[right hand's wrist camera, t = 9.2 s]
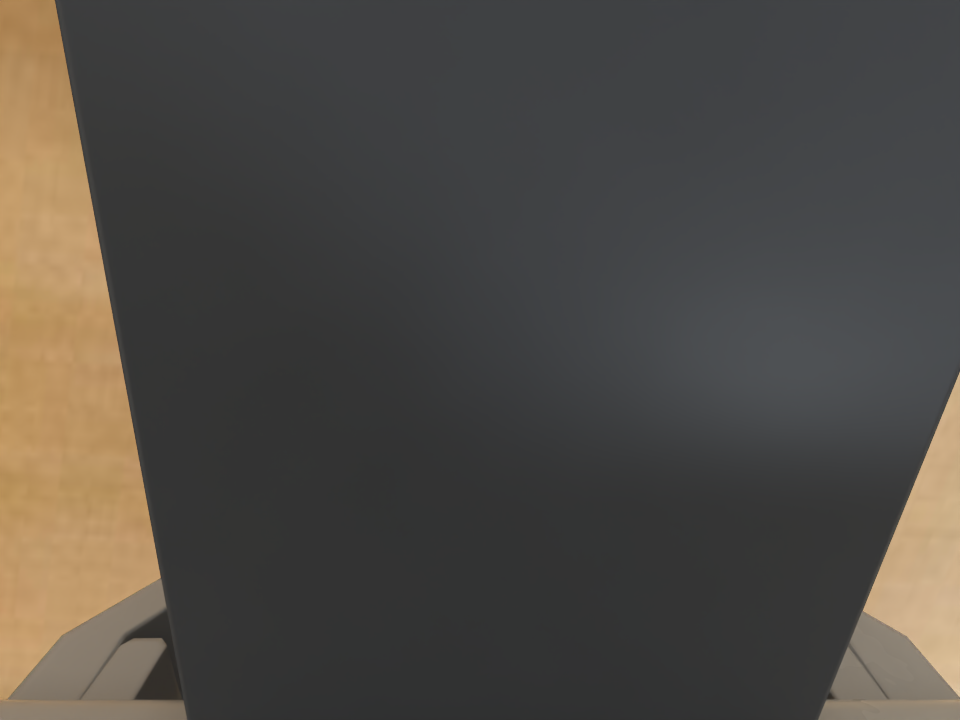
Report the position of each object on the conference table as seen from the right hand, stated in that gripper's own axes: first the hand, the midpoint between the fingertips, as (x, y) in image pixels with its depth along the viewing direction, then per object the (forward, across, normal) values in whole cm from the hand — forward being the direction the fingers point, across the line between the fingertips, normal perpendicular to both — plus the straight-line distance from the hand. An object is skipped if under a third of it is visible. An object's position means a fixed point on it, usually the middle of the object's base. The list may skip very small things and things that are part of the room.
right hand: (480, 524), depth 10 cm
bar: (+4, -1, -8) cm, 9 cm away
